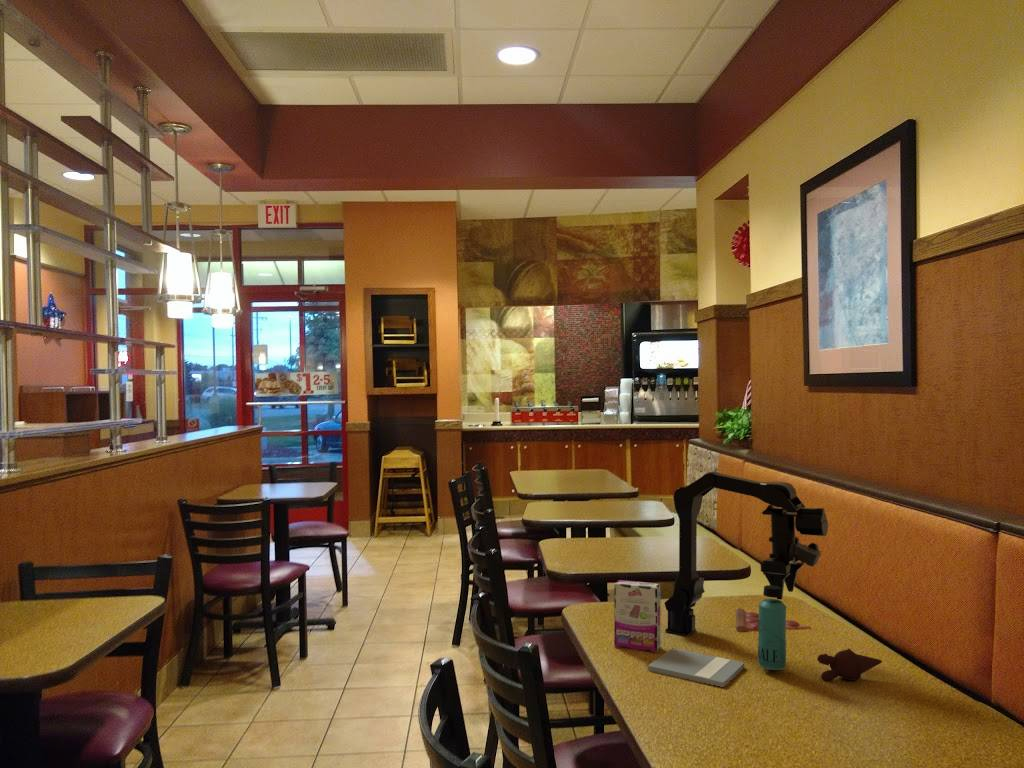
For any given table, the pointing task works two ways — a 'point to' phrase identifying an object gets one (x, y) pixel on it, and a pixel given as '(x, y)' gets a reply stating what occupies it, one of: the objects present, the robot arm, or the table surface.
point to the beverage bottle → (772, 630)
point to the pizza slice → (751, 621)
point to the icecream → (846, 665)
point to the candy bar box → (637, 616)
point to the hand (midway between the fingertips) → (785, 595)
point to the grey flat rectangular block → (696, 667)
